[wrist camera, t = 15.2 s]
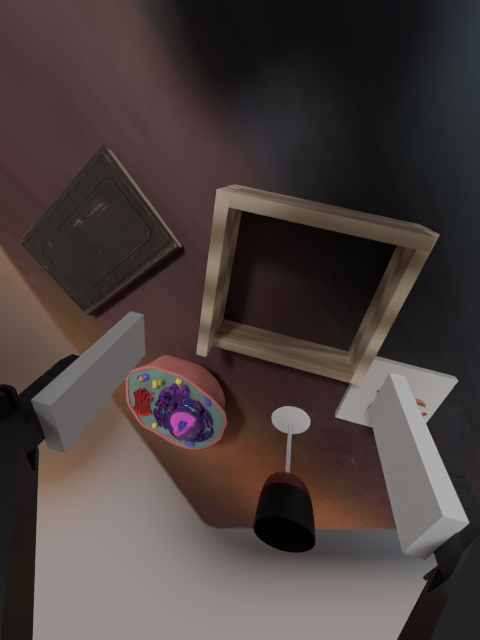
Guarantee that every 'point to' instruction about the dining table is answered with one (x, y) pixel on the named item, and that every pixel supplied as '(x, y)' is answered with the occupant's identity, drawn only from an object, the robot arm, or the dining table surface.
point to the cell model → (177, 401)
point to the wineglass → (286, 496)
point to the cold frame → (235, 198)
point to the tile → (359, 398)
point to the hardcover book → (100, 234)
